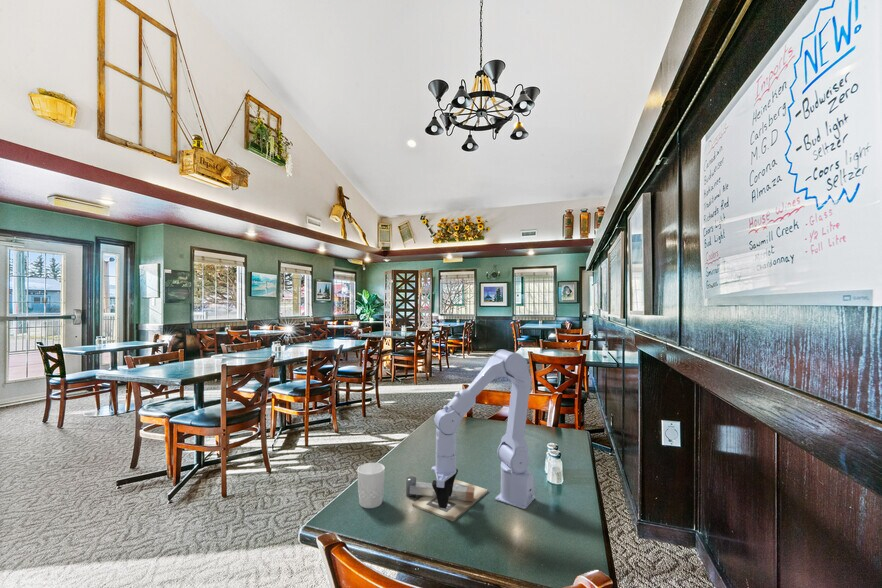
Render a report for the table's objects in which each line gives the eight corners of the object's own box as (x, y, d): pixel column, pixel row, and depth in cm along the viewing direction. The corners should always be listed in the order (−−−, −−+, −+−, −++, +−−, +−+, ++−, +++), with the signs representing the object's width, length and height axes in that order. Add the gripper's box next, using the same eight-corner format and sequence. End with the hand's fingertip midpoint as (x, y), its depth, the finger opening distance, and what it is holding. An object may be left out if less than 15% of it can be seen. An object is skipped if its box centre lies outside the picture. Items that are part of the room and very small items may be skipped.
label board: (488, 491, 122) (488, 489, 122) (453, 521, 105) (453, 518, 105) (450, 479, 129) (450, 477, 129) (412, 505, 113) (412, 503, 113)
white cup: (351, 505, 113) (351, 470, 113) (368, 493, 120) (368, 460, 120) (373, 512, 109) (373, 476, 109) (389, 499, 116) (390, 465, 116)
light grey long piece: (474, 499, 116) (474, 483, 117) (472, 505, 113) (472, 488, 113) (407, 491, 121) (408, 475, 121) (404, 497, 118) (404, 480, 118)
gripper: (437, 442, 119) (436, 487, 119) (425, 462, 105) (425, 513, 105) (460, 444, 118) (459, 490, 118) (451, 464, 104) (451, 516, 103)
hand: (445, 501), depth 111 cm, fingers open, 6 cm apart
